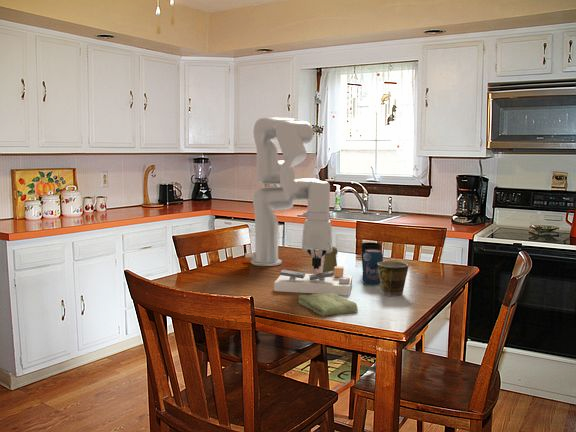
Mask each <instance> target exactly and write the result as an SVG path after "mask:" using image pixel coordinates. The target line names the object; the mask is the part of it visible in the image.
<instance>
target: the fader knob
mask: <svg viewBox="0 0 576 432" xmlns="http://www.w3.org/2000/svg"><path fill="white" fill-rule="evenodd" d="M343 276H344V266H338V265H337V266H335V267H334V277H343Z"/></svg>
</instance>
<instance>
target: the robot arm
mask: <svg viewBox="0 0 576 432" xmlns="http://www.w3.org/2000/svg"><path fill="white" fill-rule="evenodd" d="M252 133H253V139H254V143H255V148H256V178H257V181H258V183H260V184H263V185H264V184H265V185H273V184H274V185H276V184H277V185H280V186H267V187H265V186H264V187H259V188H257V189H255V190H254V191H253V193H252V204H253V208H254V209H253V211H254V251H253V252H251V253H250V252H245V253H244V254H245V255H244V257H245V258H246V259H251V265H254V266H256V267H257V266H259V267H275V266H279V265H282V261H283V260H282V259H281V258H280V259H279V220H278V218H277V216H276V214H275V213H274V211H284V210H285V211H286V210H290V209H292V208H293V206H294V204H295V201H306V200H307V208H306V209H307V210H306V212H303V213H302V217H304V218H306V219H305V220H304V222H303V223H304V224H303V228H302V229H303V230H302V239H301V240H302V241H301V246H302V248H301V251H302V252H306V253H308V255H309V256H311V258H312V259H311V260H312V261H311V267H313V270H319V269H320V267H321V266H322V257H323V256H325V253H331V252H332V245H333V229H332V223H331V222H332V221H331V220H330V199H331V198H330V197H331V185H330V182H329V181H325V180H320V179H318V178H296V172H295V166H297V165H299V164H301V163H302V162H304V161H305V160H306V158H307V156H308V155H307V150H306V147H305V144H309V143H311V142H312V140H313V137H314V131H313V127H312V126H311V124H310V123H309V122H308V121H305V120H302V119H301V120H300V119H297V118H293V117H272V116H271V117H270V116H268V117H267V116H266V117H260V118H258V119H257V120H256V121H255V123H254V125H253V131H252ZM274 140H277V142H278V145H279V148H280V151H281V153H282V155H283V159H284V160H279V158H278V157H279V156H278V153H279V151H278V147H277V145H276V143H275V142H274ZM316 250H318V254H316Z"/></svg>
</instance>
